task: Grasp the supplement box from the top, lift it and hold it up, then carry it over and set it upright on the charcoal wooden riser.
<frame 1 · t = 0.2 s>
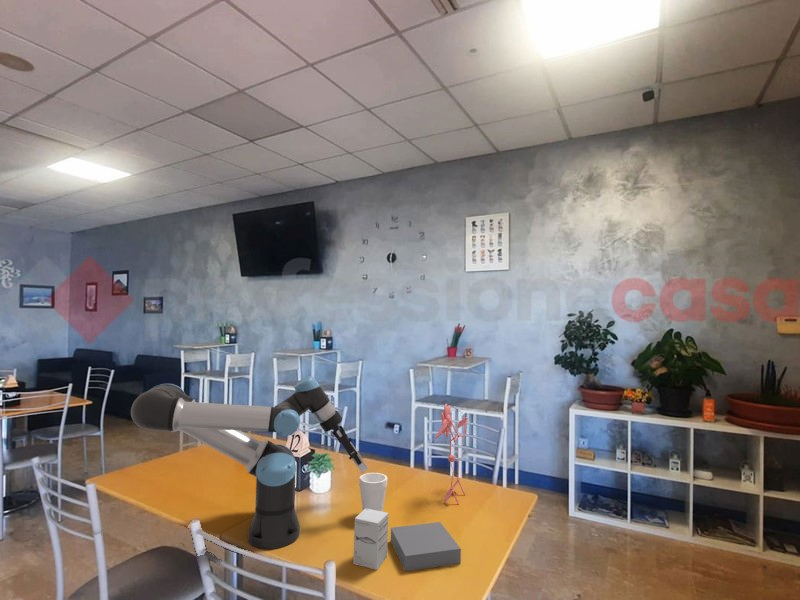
hand: (361, 464, 153), 15 cm above the table, tool tilted 35°, fingers open, 13 cm apart
foam cup: (372, 517, 147), on the table
pink stick sculpture: (444, 496, 164), on the table
riser: (424, 551, 125), on the table
supplement box: (370, 561, 120), on the table
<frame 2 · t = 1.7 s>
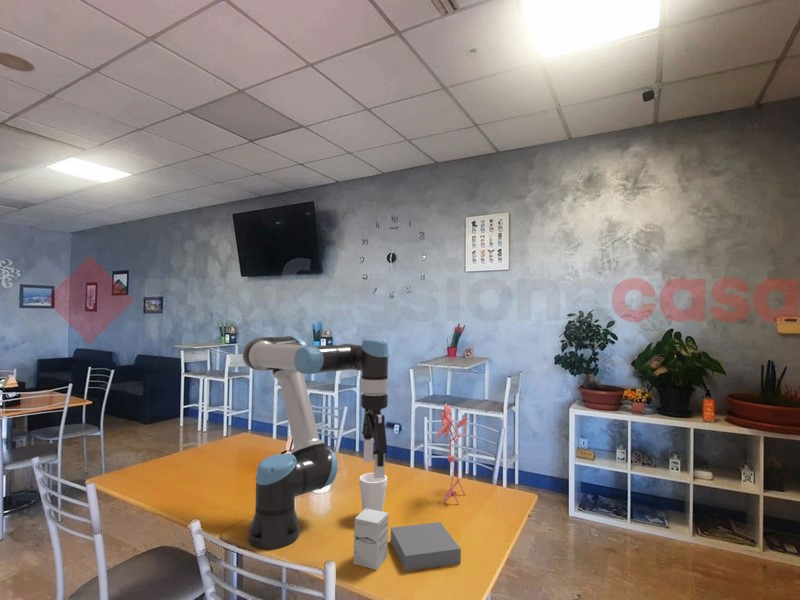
hand: (373, 469, 122), 25 cm above the table, tool pointing down, fingers open, 13 cm apart
nothing on the table moved.
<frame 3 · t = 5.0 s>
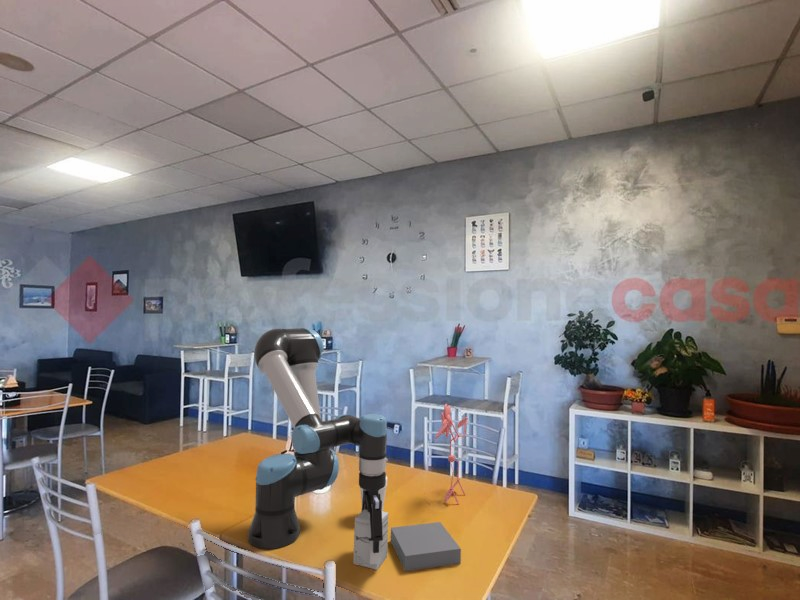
hand: (370, 552, 120), 2 cm above the table, tool pointing down, fingers closed on supplement box, 10 cm apart
supplement box: (370, 561, 120), on the table, touching gripper
everything else where it was.
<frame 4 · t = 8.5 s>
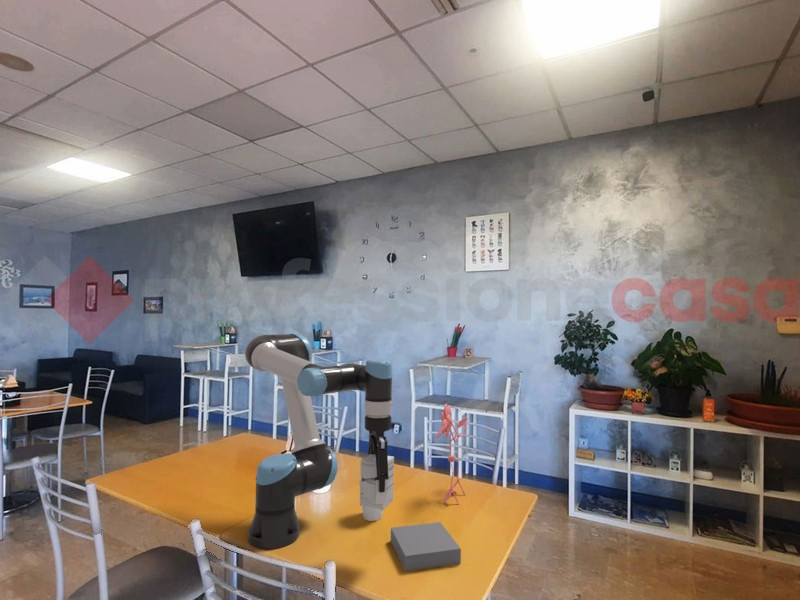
hand: (376, 495, 121), 18 cm above the table, tool pointing down, fingers closed on supplement box, 10 cm apart
supplement box: (376, 504, 121), point 15 cm above the table, touching gripper
everything else where it was.
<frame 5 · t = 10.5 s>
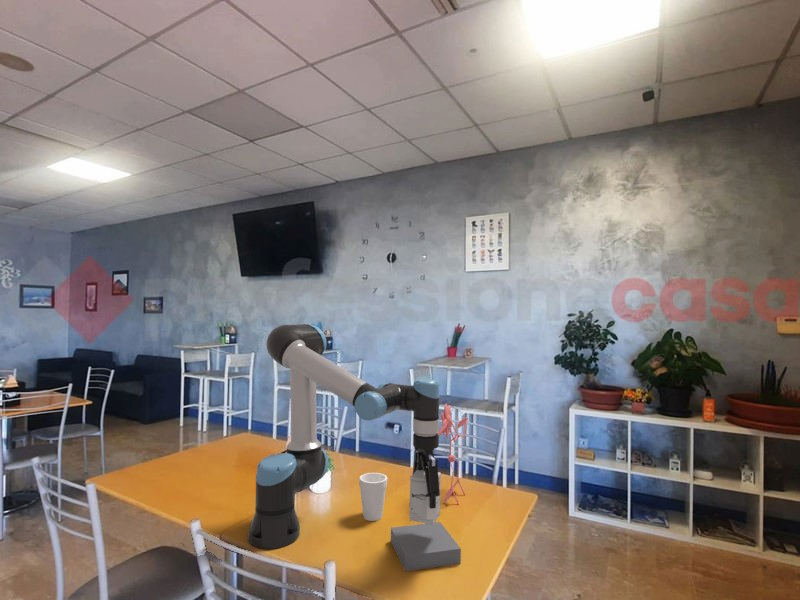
hand: (425, 510, 126), 12 cm above the table, tool pointing down, fingers closed on supplement box, 10 cm apart
supplement box: (425, 518, 126), point 9 cm above the table, touching gripper
everything else where it was.
when the fingers open (8 cm above the table, at t = 12.2 s): supplement box drops 1 cm, resting on riser.
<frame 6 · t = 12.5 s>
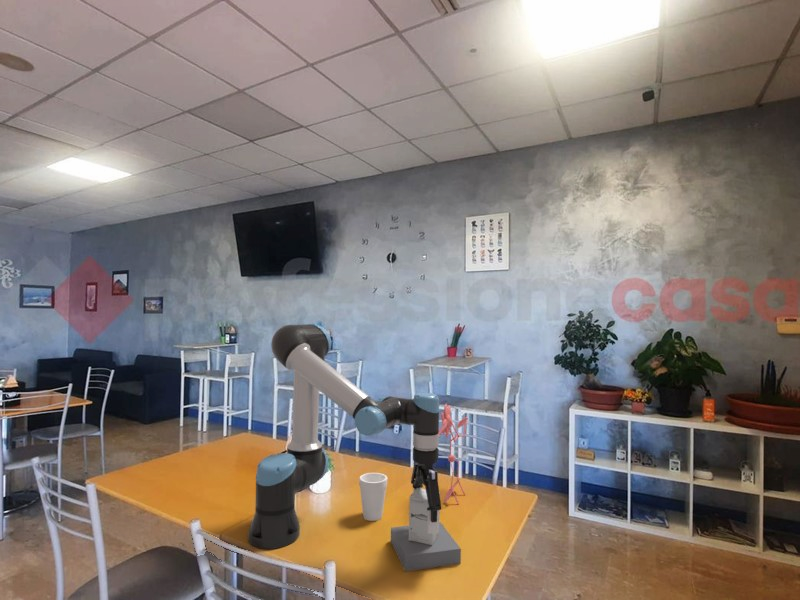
hand: (424, 521, 126), 9 cm above the table, tool pointing down, fingers open, 13 cm apart
supplement box: (424, 538, 126), point 4 cm above the table, touching riser
everything else where it was.
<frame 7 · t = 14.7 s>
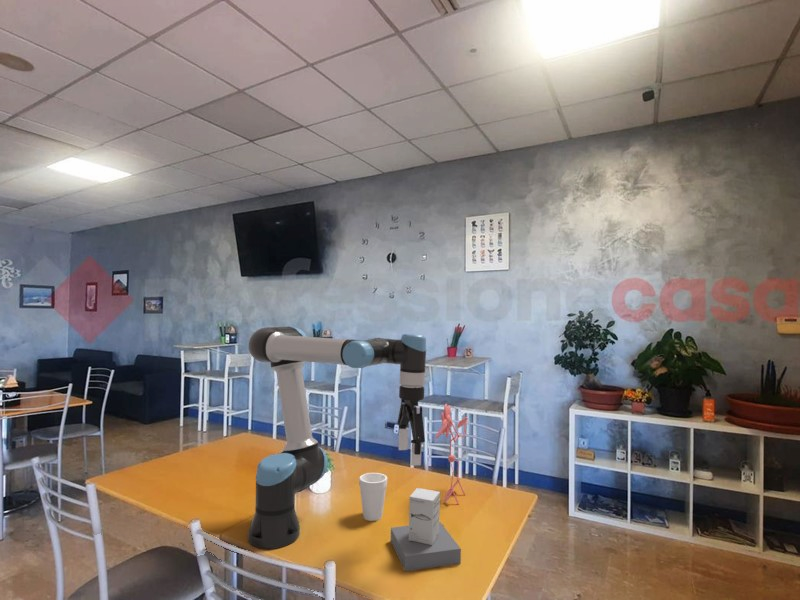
hand: (409, 457, 129), 26 cm above the table, tool pointing down, fingers open, 13 cm apart
nothing on the table moved.
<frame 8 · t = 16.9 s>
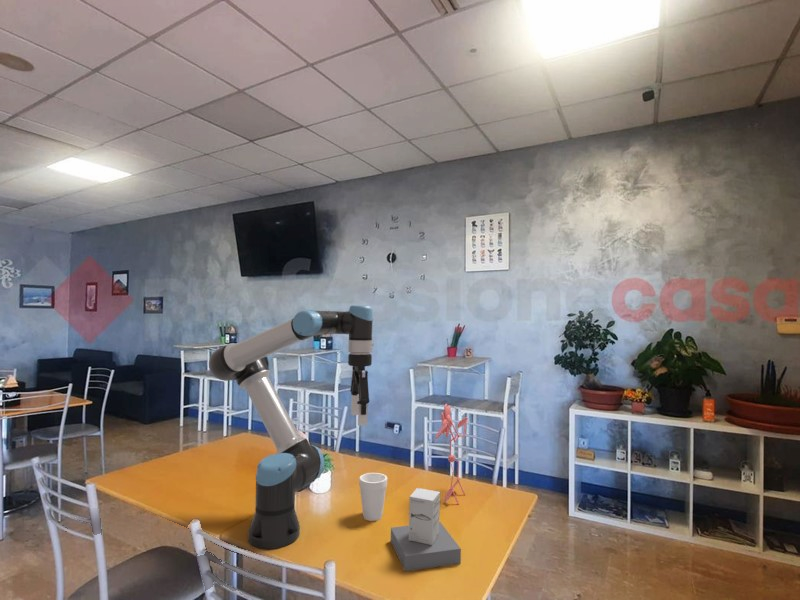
hand: (358, 419, 139), 35 cm above the table, tool pointing down, fingers open, 13 cm apart
nothing on the table moved.
at the end: supplement box inside the target area on the riser (0.1 cm from its centre), point 3.8 cm above the riser's base; supplement box tilted 0°; the gripper is holding nothing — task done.
